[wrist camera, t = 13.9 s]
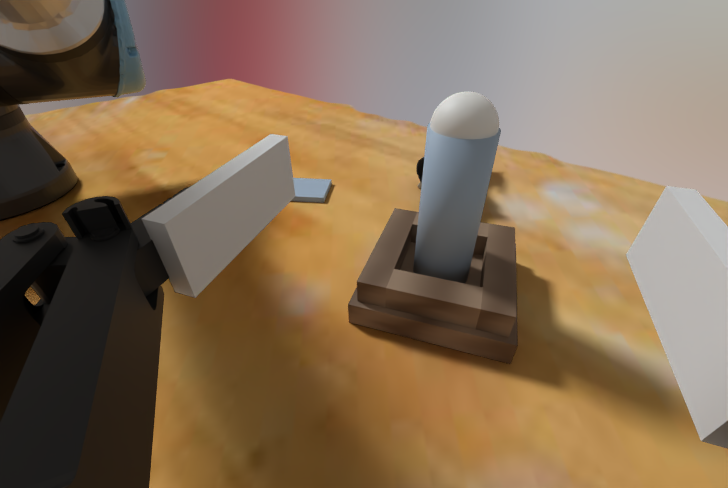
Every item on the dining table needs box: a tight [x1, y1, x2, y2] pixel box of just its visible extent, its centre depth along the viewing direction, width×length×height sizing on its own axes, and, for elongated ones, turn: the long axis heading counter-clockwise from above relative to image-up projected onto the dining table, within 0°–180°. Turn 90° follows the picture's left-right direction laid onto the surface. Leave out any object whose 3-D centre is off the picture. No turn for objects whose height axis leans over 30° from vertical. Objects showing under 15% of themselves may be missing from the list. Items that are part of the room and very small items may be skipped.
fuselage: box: [413, 92, 501, 284], centre depth 25 cm, size 4×4×14 cm
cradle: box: [348, 208, 518, 364], centre depth 29 cm, size 12×12×4 cm
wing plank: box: [291, 178, 332, 203], centre depth 45 cm, size 12×5×1 cm, turn 84°
